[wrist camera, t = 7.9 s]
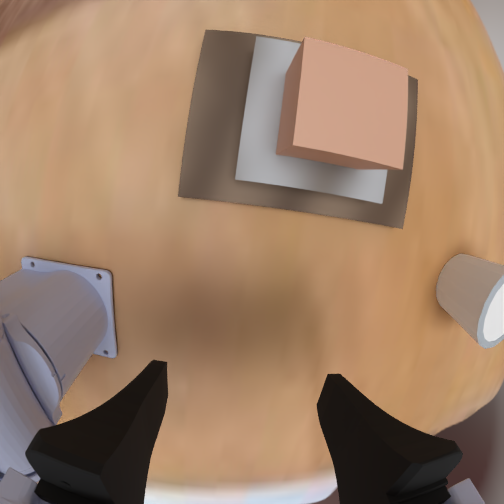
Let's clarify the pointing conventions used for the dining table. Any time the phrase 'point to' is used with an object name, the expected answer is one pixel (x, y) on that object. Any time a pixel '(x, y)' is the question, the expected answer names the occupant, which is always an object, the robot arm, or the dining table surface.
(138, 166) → the dining table surface
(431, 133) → the dining table surface
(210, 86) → the walnut base
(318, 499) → the dining table surface
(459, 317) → the grey cup
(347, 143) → the terracotta block
